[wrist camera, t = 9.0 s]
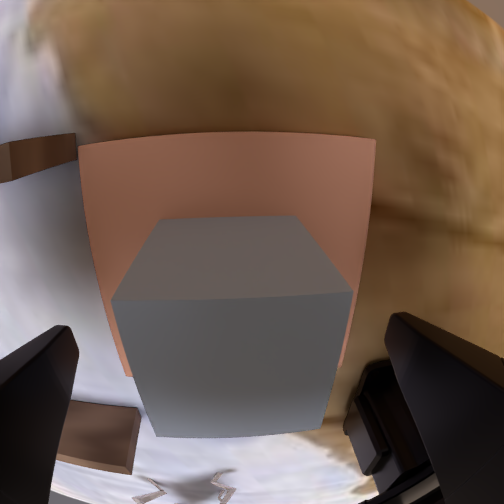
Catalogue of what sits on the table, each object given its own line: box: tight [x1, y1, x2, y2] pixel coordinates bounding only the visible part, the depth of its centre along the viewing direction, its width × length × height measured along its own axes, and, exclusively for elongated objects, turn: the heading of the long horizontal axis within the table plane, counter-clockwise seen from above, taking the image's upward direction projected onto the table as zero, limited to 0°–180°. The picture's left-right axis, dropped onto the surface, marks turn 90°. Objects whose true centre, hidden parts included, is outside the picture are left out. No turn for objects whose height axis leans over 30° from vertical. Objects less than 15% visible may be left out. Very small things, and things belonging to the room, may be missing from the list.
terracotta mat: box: [78, 132, 376, 377], centre depth 11 cm, size 10×10×1 cm
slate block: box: [110, 216, 354, 438], centre depth 8 cm, size 4×4×5 cm
